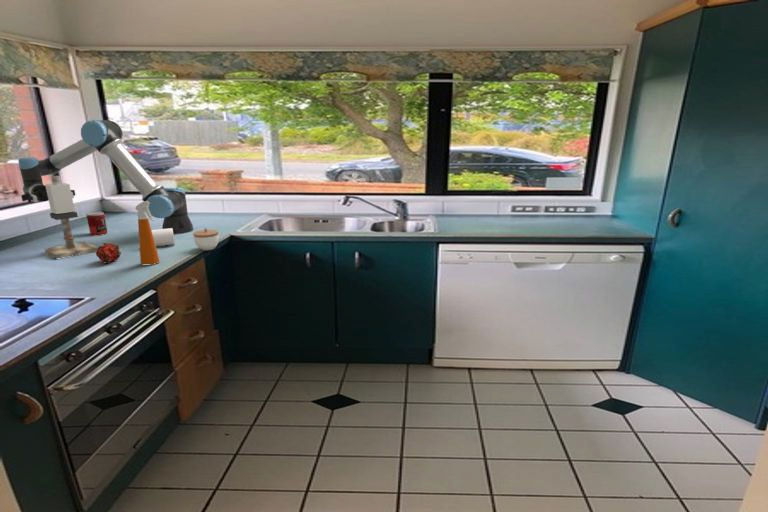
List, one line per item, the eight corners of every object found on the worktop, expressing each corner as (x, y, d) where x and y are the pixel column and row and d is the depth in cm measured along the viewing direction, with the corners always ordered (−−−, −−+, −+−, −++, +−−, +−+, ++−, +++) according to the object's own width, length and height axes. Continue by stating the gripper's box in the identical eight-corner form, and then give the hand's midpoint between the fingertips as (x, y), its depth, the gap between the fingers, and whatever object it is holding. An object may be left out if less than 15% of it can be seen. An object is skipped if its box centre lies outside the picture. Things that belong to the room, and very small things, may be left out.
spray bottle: (152, 268, 179) (141, 203, 172) (137, 264, 185) (126, 200, 177) (168, 263, 185) (159, 200, 177) (153, 259, 191) (143, 198, 183)
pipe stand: (85, 245, 213) (70, 173, 203) (98, 251, 203) (83, 175, 193) (45, 252, 201) (27, 176, 191) (56, 259, 191) (38, 179, 182)
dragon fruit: (115, 260, 195) (111, 272, 185) (94, 251, 191) (89, 263, 181) (125, 244, 194) (121, 256, 184) (105, 235, 189) (99, 246, 179)
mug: (175, 246, 211) (172, 230, 208) (151, 249, 207) (148, 232, 204) (174, 240, 221) (171, 224, 219) (151, 243, 217) (149, 227, 215)
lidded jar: (196, 253, 200) (194, 232, 197) (194, 247, 209) (191, 227, 206) (221, 249, 205) (219, 229, 202) (218, 244, 214) (216, 225, 211)
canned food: (99, 236, 230) (95, 215, 227) (86, 235, 232) (82, 214, 229) (111, 232, 238) (107, 212, 234) (98, 231, 239) (94, 211, 236)
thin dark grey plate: (71, 214, 203) (70, 210, 202) (77, 217, 198) (76, 212, 198) (50, 217, 197) (49, 213, 197) (56, 220, 192) (55, 215, 192)
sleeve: (69, 209, 202) (64, 182, 198) (75, 211, 197) (69, 184, 194) (51, 212, 196) (45, 184, 193) (56, 213, 192) (50, 185, 189)
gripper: (72, 197, 222) (88, 201, 209) (9, 204, 204) (22, 209, 190) (69, 181, 220) (84, 185, 206) (5, 187, 201) (17, 192, 188)
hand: (54, 197), depth 198 cm, fingers open, 13 cm apart
